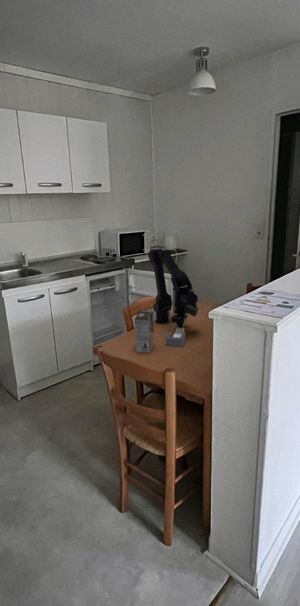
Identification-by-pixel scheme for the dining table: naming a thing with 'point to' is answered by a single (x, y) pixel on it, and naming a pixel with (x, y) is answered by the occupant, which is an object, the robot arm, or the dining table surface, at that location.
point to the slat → (178, 333)
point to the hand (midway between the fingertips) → (180, 330)
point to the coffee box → (144, 331)
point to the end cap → (175, 340)
